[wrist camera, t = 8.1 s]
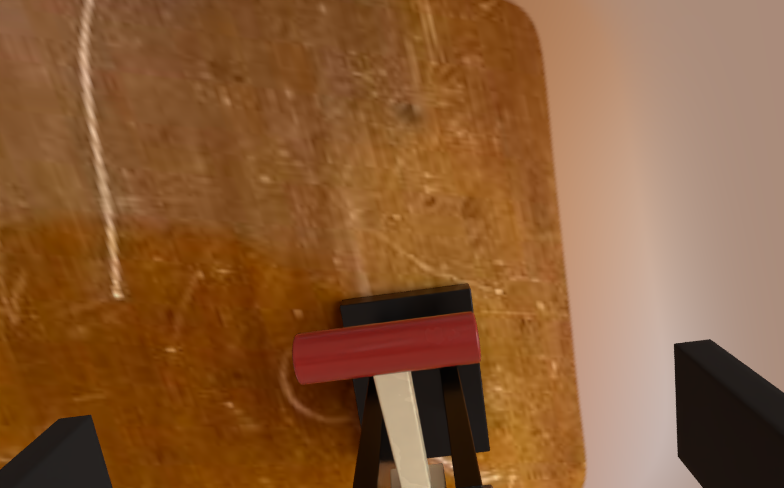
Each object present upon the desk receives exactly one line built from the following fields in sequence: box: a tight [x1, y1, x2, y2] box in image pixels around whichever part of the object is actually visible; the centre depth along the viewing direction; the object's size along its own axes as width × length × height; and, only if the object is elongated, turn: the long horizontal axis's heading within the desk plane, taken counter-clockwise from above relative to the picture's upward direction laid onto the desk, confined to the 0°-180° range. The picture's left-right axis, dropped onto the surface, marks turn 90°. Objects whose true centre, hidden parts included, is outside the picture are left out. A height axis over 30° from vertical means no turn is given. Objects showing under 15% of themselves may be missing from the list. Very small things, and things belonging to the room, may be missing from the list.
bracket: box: [340, 284, 493, 488], centre depth 28 cm, size 11×8×15 cm
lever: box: [292, 311, 481, 488], centre depth 20 cm, size 12×6×2 cm, turn 7°
